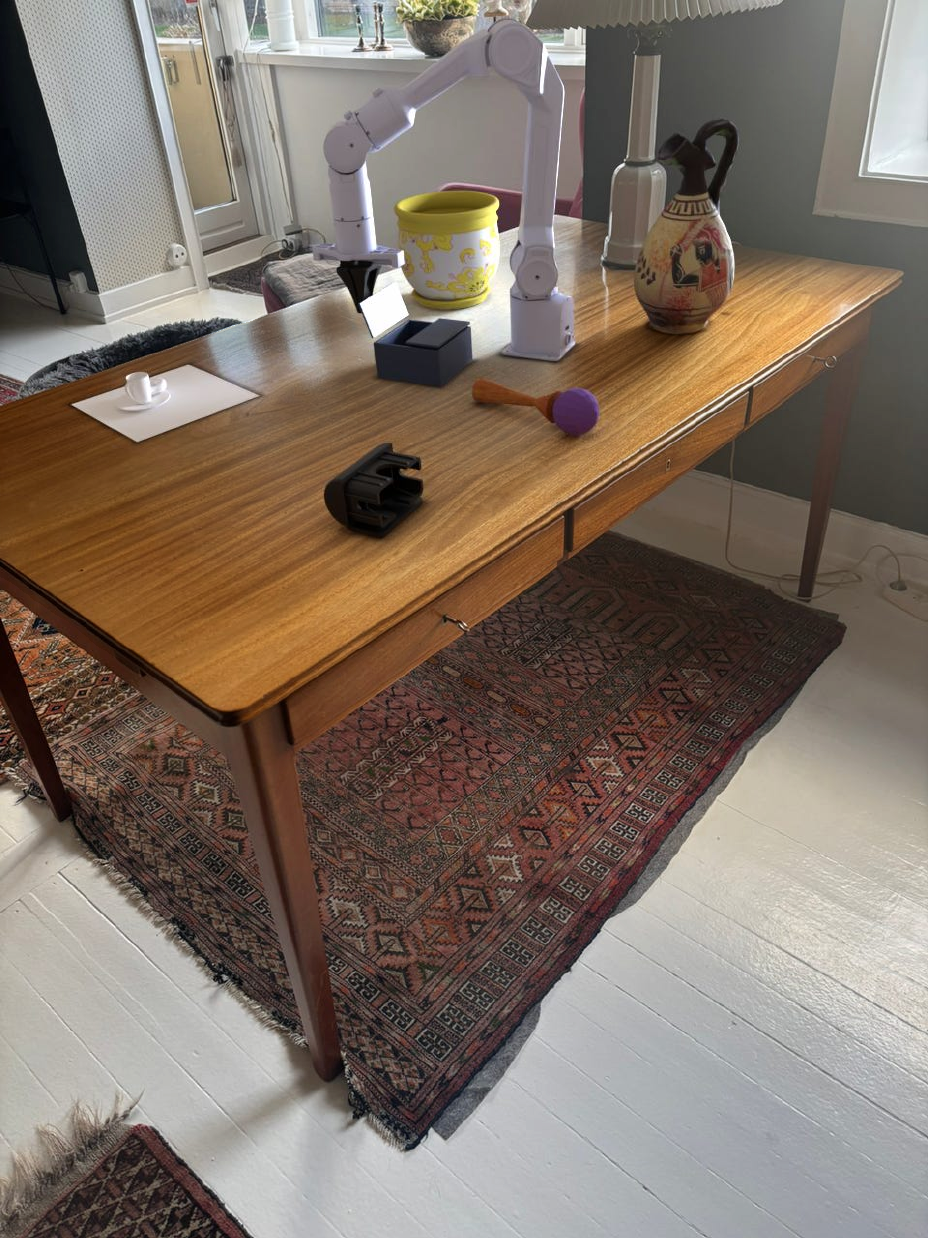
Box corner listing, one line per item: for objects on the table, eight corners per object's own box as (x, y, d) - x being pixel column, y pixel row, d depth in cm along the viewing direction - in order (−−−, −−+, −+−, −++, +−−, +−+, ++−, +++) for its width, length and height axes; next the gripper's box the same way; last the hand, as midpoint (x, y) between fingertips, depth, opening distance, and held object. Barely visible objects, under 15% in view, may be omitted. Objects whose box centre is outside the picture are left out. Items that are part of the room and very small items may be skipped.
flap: (373, 338, 138) (371, 338, 138) (408, 314, 145) (406, 315, 145) (359, 303, 135) (357, 303, 136) (396, 281, 143) (394, 281, 143)
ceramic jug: (657, 347, 145) (673, 133, 128) (616, 317, 157) (625, 117, 140) (755, 331, 149) (784, 120, 131) (708, 303, 161) (728, 106, 143)
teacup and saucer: (158, 385, 143) (152, 359, 141) (186, 398, 138) (179, 372, 136) (105, 404, 138) (98, 377, 136) (132, 418, 134) (124, 391, 131)
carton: (377, 377, 141) (372, 337, 138) (411, 352, 149) (408, 314, 145) (440, 386, 137) (437, 345, 134) (472, 360, 145) (470, 321, 141)
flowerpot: (382, 300, 171) (372, 204, 162) (457, 277, 180) (452, 185, 171) (445, 322, 160) (438, 220, 150) (522, 296, 169) (520, 199, 159)
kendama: (495, 366, 132) (610, 389, 119) (493, 408, 135) (606, 435, 122) (465, 371, 128) (581, 395, 116) (464, 414, 131) (578, 442, 118)
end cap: (376, 489, 113) (370, 437, 109) (426, 500, 110) (422, 448, 106) (327, 528, 106) (318, 474, 102) (379, 541, 103) (373, 486, 99)
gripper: (295, 220, 134) (309, 315, 142) (383, 226, 129) (392, 324, 137) (322, 208, 139) (334, 300, 147) (407, 214, 134) (415, 309, 142)
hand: (364, 311), depth 142 cm, fingers closed
